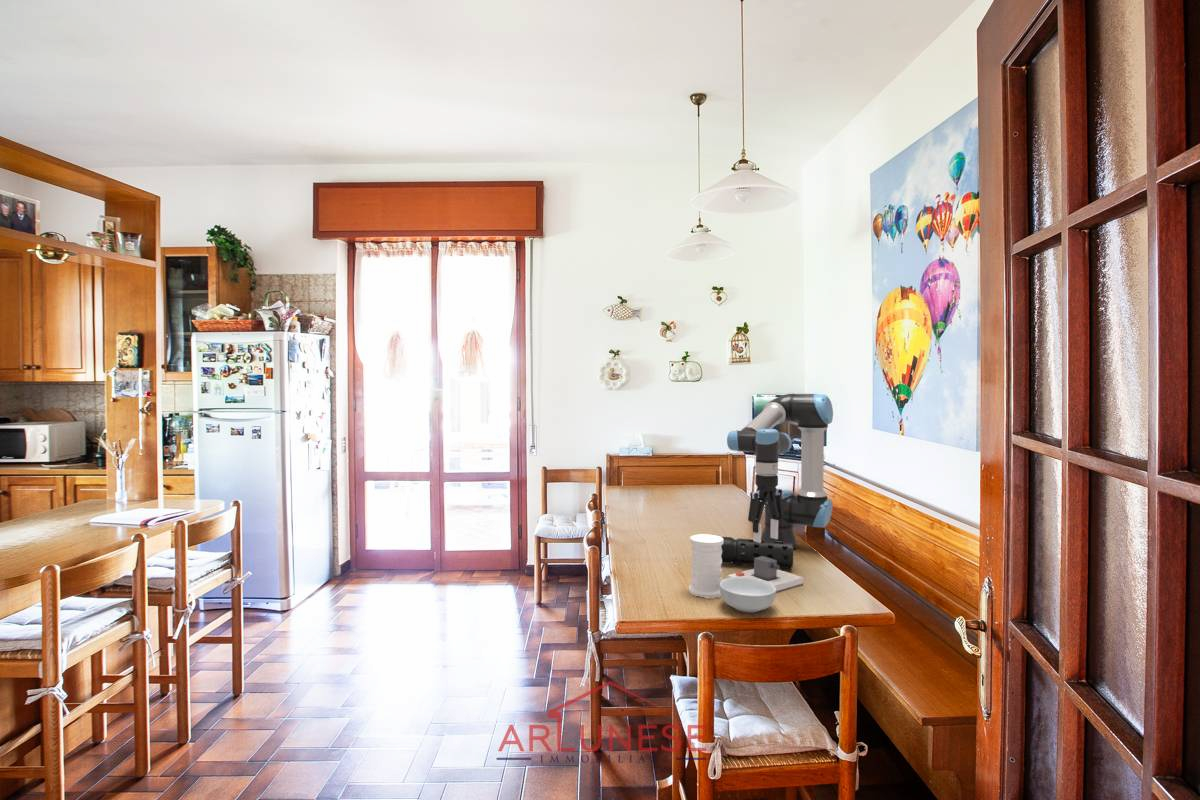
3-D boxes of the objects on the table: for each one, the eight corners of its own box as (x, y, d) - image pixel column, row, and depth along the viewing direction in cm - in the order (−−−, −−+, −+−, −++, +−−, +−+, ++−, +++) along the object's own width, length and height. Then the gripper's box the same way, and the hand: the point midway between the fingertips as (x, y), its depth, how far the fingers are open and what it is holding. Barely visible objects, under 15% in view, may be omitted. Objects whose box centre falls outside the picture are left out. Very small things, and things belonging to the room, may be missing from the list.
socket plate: (766, 572, 220) (766, 563, 220) (803, 584, 207) (803, 575, 207) (727, 582, 209) (727, 572, 209) (763, 596, 196) (763, 586, 196)
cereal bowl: (736, 621, 176) (736, 597, 175) (710, 601, 192) (710, 579, 191) (786, 615, 180) (787, 591, 180) (757, 596, 196) (757, 574, 196)
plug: (753, 581, 209) (754, 558, 209) (762, 578, 212) (762, 556, 212) (773, 587, 202) (773, 564, 202) (782, 585, 205) (782, 561, 205)
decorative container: (681, 589, 202) (682, 536, 201) (708, 584, 207) (709, 532, 207) (703, 600, 192) (704, 544, 191) (731, 594, 197) (732, 540, 197)
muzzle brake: (793, 573, 220) (793, 545, 220) (715, 567, 227) (715, 539, 227) (791, 565, 229) (791, 538, 229) (716, 559, 236) (716, 533, 236)
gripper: (754, 478, 198) (753, 547, 199) (795, 473, 210) (794, 538, 210) (737, 475, 204) (736, 541, 205) (778, 470, 216) (777, 533, 217)
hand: (765, 539), depth 208 cm, fingers open, 8 cm apart
